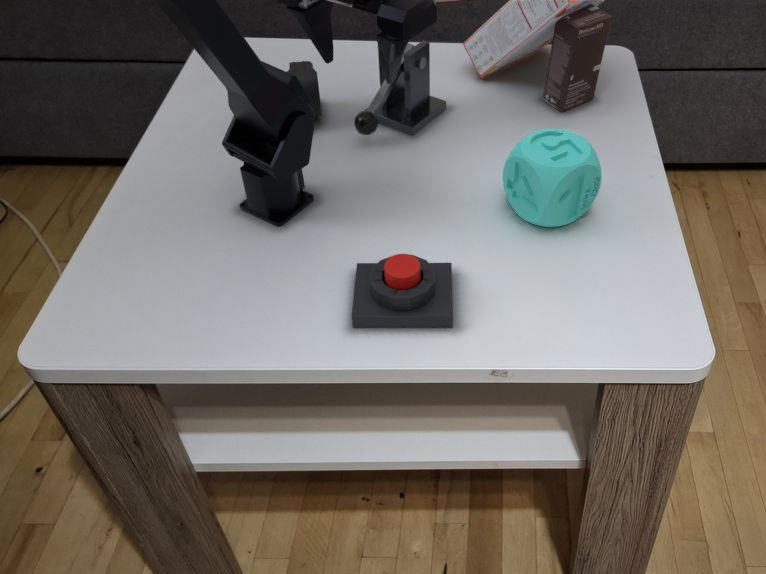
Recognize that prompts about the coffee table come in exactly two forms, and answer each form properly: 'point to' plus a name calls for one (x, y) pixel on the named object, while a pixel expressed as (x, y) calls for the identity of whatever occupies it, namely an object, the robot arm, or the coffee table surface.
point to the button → (402, 271)
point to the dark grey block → (308, 83)
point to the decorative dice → (552, 177)
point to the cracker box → (517, 31)
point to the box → (576, 57)
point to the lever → (377, 104)
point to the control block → (403, 298)
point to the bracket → (411, 94)
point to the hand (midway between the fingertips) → (359, 72)
